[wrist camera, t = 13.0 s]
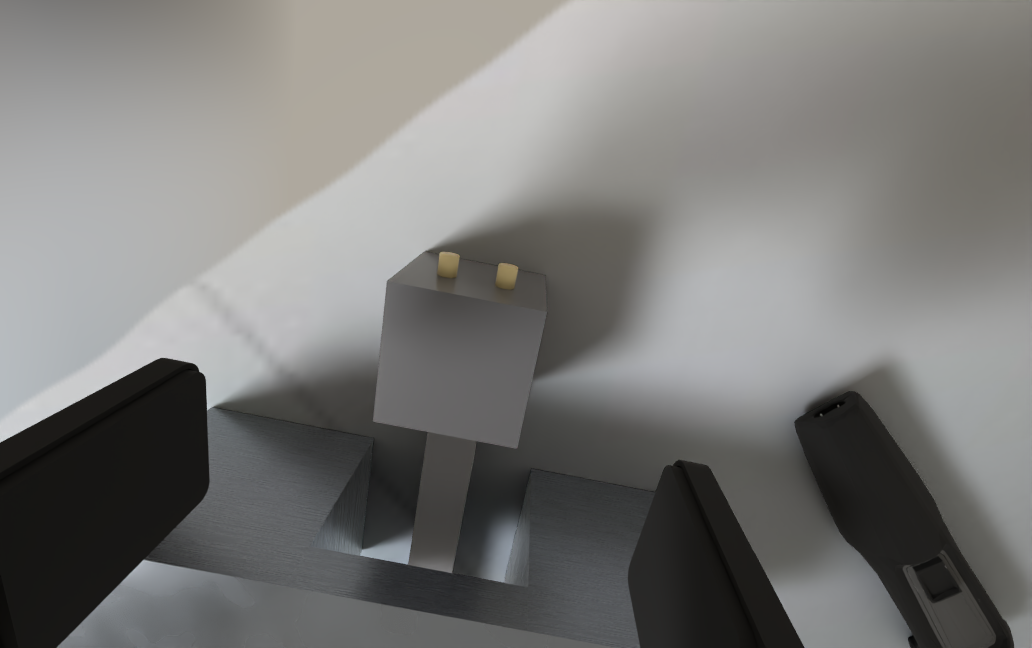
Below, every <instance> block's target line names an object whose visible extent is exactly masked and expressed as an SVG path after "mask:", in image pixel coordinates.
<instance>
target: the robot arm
mask: <svg viewBox="0 0 1032 648" xmlns="http://www.w3.org/2000/svg"><path fill="white" fill-rule="evenodd" d="M209 483H210V477H209V451H208V426H207V400H206V380H205V376H204V374H202V373H201V372H199V369H198V367H197V366H196V365H195V364H193V363H188V362H183V361H178V360H173V359H168V358H160V359H157V360H155V361H153V362H151V363H150V364H148V365H146V366H144V367H142V368H140V369H138V370H136V371H134V372H133V373H131V374H129V375H127V376H125V377H123V378H121V379H119V380H117V381H116V382H114V383H112V384H110V385H108V386H106V387H104V388H102V389H101V390H99V391H97V392H95V393H93V394H91V395H89V396H87V397H85V398H84V399H82V400H80V401H78V402H76V403H74V404H72V405H70V406H68V407H67V408H65V409H63V410H61V411H59V412H57V413H55V414H53V415H52V416H50V417H48V418H46V419H44V420H42V421H40V422H38V423H36V424H35V425H33V426H31V427H29V428H27V429H25V430H23V431H21V432H19V433H18V434H16V435H14V436H12V437H10V438H8V439H6V440H4V441H3V442H1V443H0V648H57V647H58V646H59V645H60V644H61V643H62V642H63V641H64V640H65V639H66V638H67V637H68V636H69V635H70V634H71V633H72V632H73V631H74V630H75V629H76V628H77V627H78V626H79V625H80V624H81V623H82V622H83V621H84V620H85V619H86V618H87V617H88V616H89V615H90V614H91V613H92V612H93V611H94V610H95V609H96V608H97V606H98V605H99V604H100V603H101V602H102V601H103V600H104V599H105V598H106V597H107V596H108V595H109V594H110V593H111V592H112V591H113V590H114V589H115V588H116V587H117V586H118V585H119V584H120V583H121V582H122V581H123V580H124V579H125V578H126V577H127V576H128V575H129V574H130V573H131V572H132V571H133V570H134V569H135V568H136V567H137V566H138V565H139V564H140V563H141V562H142V561H143V560H144V559H145V558H146V557H147V556H148V555H149V554H150V553H151V552H152V551H153V550H154V549H155V548H156V547H157V546H158V545H159V544H160V543H161V542H162V541H163V540H164V539H165V538H166V537H167V536H168V535H169V534H170V533H171V532H172V531H173V530H174V529H175V528H176V527H177V526H178V525H179V524H180V523H181V522H182V521H183V520H184V518H185V517H186V516H187V515H188V514H189V513H190V512H191V511H192V510H193V509H194V508H195V507H196V506H197V505H198V504H199V503H200V502H201V501H202V500H203V499H204V497H205V495H206V493H207V491H208V488H209ZM628 586H629V592H630V597H631V602H632V607H633V612H634V618H635V623H636V628H637V633H638V638H639V644H640V648H804V646H803V644H802V642H801V640H800V638H799V636H798V635H797V633H796V631H795V629H794V627H793V625H792V623H791V621H790V619H789V617H788V615H787V614H786V612H785V610H784V608H783V606H782V604H781V602H780V600H779V598H778V596H777V595H776V593H775V591H774V589H773V587H772V585H771V583H770V581H769V579H768V577H767V575H766V574H765V572H764V570H763V568H762V566H761V564H760V562H759V560H758V558H757V556H756V554H755V553H754V551H753V550H752V548H751V546H750V544H749V542H748V540H747V538H746V536H745V534H744V532H743V531H742V529H741V527H740V525H739V523H738V521H737V519H736V517H735V515H734V513H733V511H732V510H731V508H730V506H729V504H728V502H727V500H726V498H725V496H724V494H723V492H722V490H721V489H720V487H719V485H718V483H717V481H716V479H715V477H714V475H713V473H712V471H711V469H710V468H709V467H708V466H706V465H703V464H698V463H692V462H687V461H682V460H678V461H676V462H675V463H674V465H673V466H670V465H667V466H666V467H665V468H664V470H663V473H662V476H661V478H660V481H659V484H658V487H657V490H656V492H655V495H654V498H653V501H652V503H651V506H650V509H649V512H648V515H647V517H646V520H645V523H644V526H643V528H642V531H641V534H640V537H639V539H638V542H637V545H636V548H635V551H634V553H633V556H632V559H631V562H630V565H629V569H628Z"/></svg>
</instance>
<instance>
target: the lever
mask: <svg viewBox="0 0 1032 648" xmlns="http://www.w3.org/2000/svg"><path fill="white" fill-rule="evenodd" d="M546 316H547V297H546V279H545V275H542V274H536V273H531V272H526V271H521V270H518V267H517V266H515V265H512V264H507V263H499V266H496V265H490V264H485V263H480V262H475V261H470V260H465V259H460V255H458V254H455V253H451V252H440V255H439V254H434V253H429V252H423V253H422V254H421V255H419V256H418V257H417V258H416V259H414V260H413V261H412V262H410V263H409V264H408V265H407V266H405V267H404V268H403V269H402V270H400V271H399V272H398V273H397V274H395V275H394V276H393V277H391V278H390V279H389V280H388V281H387V286H386V296H385V306H384V316H383V326H382V336H381V346H380V356H379V366H378V376H377V385H376V395H375V405H374V415H373V422H378V423H383V424H388V425H394V426H399V427H404V428H409V429H415V430H420V431H425V432H428V433H427V440H426V447H425V454H424V461H423V467H422V474H421V481H420V488H419V495H418V502H417V508H416V515H415V522H414V529H413V536H412V543H411V550H410V556H409V563H408V565H412V566H417V567H422V568H428V569H433V570H438V571H444V572H449V573H453V568H454V563H455V557H456V552H457V547H458V541H459V536H460V531H461V525H462V520H463V515H464V509H465V504H466V499H467V493H468V488H469V483H470V477H471V472H472V467H473V461H474V456H475V451H476V445H477V441H478V442H484V443H489V444H494V445H500V446H505V447H510V448H515V449H517V447H518V443H519V438H520V434H521V429H522V425H523V420H524V415H525V411H526V406H527V402H528V397H529V393H530V388H531V384H532V379H533V375H534V370H535V366H536V361H537V357H538V352H539V348H540V343H541V339H542V334H543V330H544V325H545V321H546Z"/></svg>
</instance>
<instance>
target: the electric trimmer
mask: <svg viewBox="0 0 1032 648" xmlns="http://www.w3.org/2000/svg"><path fill="white" fill-rule="evenodd" d="M794 423H795V428H796V432H797V434H798V437H799V440H800V442H801V445H802V448H803V450H804V453H805V455H806V457H807V460H808V462H809V464H810V467H811V469H812V471H813V474H814V476H815V478H816V481H817V483H818V485H819V488H820V490H821V492H822V495H823V497H824V499H825V502H826V504H827V506H828V509H829V511H830V513H831V515H832V517H833V519H834V521H835V523H836V525H837V527H838V529H839V531H840V533H841V534H842V536H843V537H844V538H845V540H846V541H847V542H848V543H849V544H850V545H851V546H853V547H854V548H855V549H856V550H857V551H858V552H859V553H860V554H861V555H862V556H863V557H864V558H865V559H866V561H867V562H868V563H869V564H870V566H871V567H872V568H873V569H874V571H875V572H876V573H877V574H878V576H879V578H880V579H881V581H882V583H883V584H884V586H885V588H886V589H887V591H888V593H889V594H890V596H891V598H892V599H893V601H894V603H895V604H896V606H897V608H898V609H899V611H900V613H901V614H902V616H903V618H904V619H905V621H906V623H907V624H908V626H909V628H910V630H911V632H912V634H913V636H910V637H909V638H908V640H909V644H910V647H911V648H1014V642H1013V638H1012V634H1011V631H1010V628H1009V626H1008V624H1007V622H1006V621H1005V620H1003V619H1002V617H1001V615H1000V614H999V612H998V610H997V609H996V607H995V605H994V604H993V602H992V601H991V599H990V598H989V596H988V594H987V593H986V591H985V590H984V588H983V587H982V585H981V583H980V582H979V580H978V579H977V577H976V576H975V574H974V572H973V571H972V569H971V568H970V566H969V565H968V563H967V561H966V560H965V558H964V557H963V555H962V554H961V552H960V550H959V549H958V547H957V545H956V543H955V541H954V540H953V538H952V536H951V534H950V532H949V531H948V529H947V527H946V525H945V523H944V521H943V520H942V517H941V515H940V513H939V510H938V508H937V505H936V503H935V501H934V499H933V497H932V496H931V494H930V493H929V491H928V490H927V488H926V486H925V485H924V483H923V482H922V480H921V478H920V477H919V475H918V474H917V473H916V471H915V470H914V468H913V467H912V465H911V464H910V462H909V461H908V460H907V458H906V457H905V455H904V454H903V452H902V451H901V449H900V448H899V447H898V445H897V444H896V442H895V441H894V439H893V438H892V437H891V435H890V434H889V432H888V431H887V429H886V428H885V426H884V425H883V424H882V422H881V421H880V419H879V418H878V416H877V415H876V413H875V412H874V411H873V410H872V408H871V407H870V406H869V405H868V403H867V402H866V401H865V400H864V399H863V398H862V396H861V395H860V394H858V393H856V392H854V391H849V392H847V393H845V394H843V395H841V396H839V397H837V398H835V399H833V400H831V401H829V402H827V403H826V404H824V405H822V406H820V407H818V408H816V409H814V410H812V411H810V412H808V413H807V414H805V415H803V416H801V417H799V418H798V419H796V420H795V422H794Z"/></svg>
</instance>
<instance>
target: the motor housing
mask: <svg viewBox="0 0 1032 648" xmlns="http://www.w3.org/2000/svg"><path fill="white" fill-rule="evenodd" d="M207 426H208V451H209V477H210V483H209V488H208V491H207V493H206V495H205V497H204V499H203V500H202V501H201V502H200V503H199V504H198V505H197V506H196V507H195V508H194V509H193V510H192V511H191V512H190V513H189V514H188V515H187V516H186V517H185V518H184V520H183V521H182V522H181V523H180V524H179V525H178V526H177V527H176V528H175V529H174V530H173V531H172V532H171V533H170V534H169V535H168V536H167V537H166V538H165V539H164V540H163V541H162V542H161V543H160V544H159V545H158V546H157V547H156V548H155V549H154V550H153V551H152V552H151V553H150V554H149V555H148V556H147V557H146V558H145V559H144V560H143V561H142V562H141V563H140V564H139V565H138V566H137V567H136V568H135V569H134V570H133V571H132V572H131V573H130V574H129V575H128V576H127V577H126V578H125V579H124V580H123V581H122V582H121V583H120V584H119V585H118V586H117V587H116V588H115V589H114V590H113V591H112V592H111V593H110V594H109V595H108V596H107V597H106V598H105V599H104V600H103V601H102V602H101V603H100V604H99V605H98V606H97V608H96V609H95V610H94V611H93V612H92V613H91V614H90V615H89V616H88V617H87V618H86V619H85V620H84V621H83V622H82V623H81V624H80V625H79V626H78V627H77V628H76V629H75V630H74V631H73V632H72V633H71V634H70V635H69V636H68V637H67V638H66V639H65V640H64V641H63V642H62V643H61V644H60V645H59V646H58V647H57V648H640V644H639V638H638V633H637V628H636V623H635V618H634V612H633V607H632V602H631V597H630V592H629V586H628V569H629V565H630V562H631V559H632V556H633V553H634V551H635V548H636V545H637V542H638V539H639V537H640V534H641V531H642V528H643V526H644V523H645V520H646V517H647V515H648V512H649V509H650V506H651V503H652V501H653V498H654V495H655V492H651V491H646V490H641V489H636V488H630V487H625V486H620V485H615V484H610V483H604V482H599V481H594V480H589V479H583V478H578V477H573V476H568V475H563V474H557V473H552V472H547V471H542V470H537V469H531V472H530V476H529V480H528V484H527V489H526V493H525V497H524V501H523V505H522V509H521V513H520V518H519V522H518V526H517V530H516V534H515V538H514V542H513V547H512V551H511V555H510V559H509V563H508V567H507V571H506V576H505V583H502V582H497V581H492V580H486V579H481V578H476V577H470V576H465V575H460V574H454V573H449V572H444V571H438V570H433V569H428V568H422V567H417V566H412V565H406V564H401V563H396V562H390V561H385V560H380V559H374V558H369V557H364V556H360V553H361V551H362V544H363V534H364V525H365V516H366V506H367V497H368V488H369V479H370V469H371V460H372V451H373V441H374V438H370V437H365V436H360V435H354V434H349V433H344V432H339V431H334V430H328V429H323V428H318V427H313V426H307V425H302V424H297V423H292V422H287V421H281V420H276V419H271V418H266V417H261V416H255V415H250V414H245V413H240V412H235V411H229V410H224V409H219V408H214V407H212V408H210V409H209V410H208V411H207Z"/></svg>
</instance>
